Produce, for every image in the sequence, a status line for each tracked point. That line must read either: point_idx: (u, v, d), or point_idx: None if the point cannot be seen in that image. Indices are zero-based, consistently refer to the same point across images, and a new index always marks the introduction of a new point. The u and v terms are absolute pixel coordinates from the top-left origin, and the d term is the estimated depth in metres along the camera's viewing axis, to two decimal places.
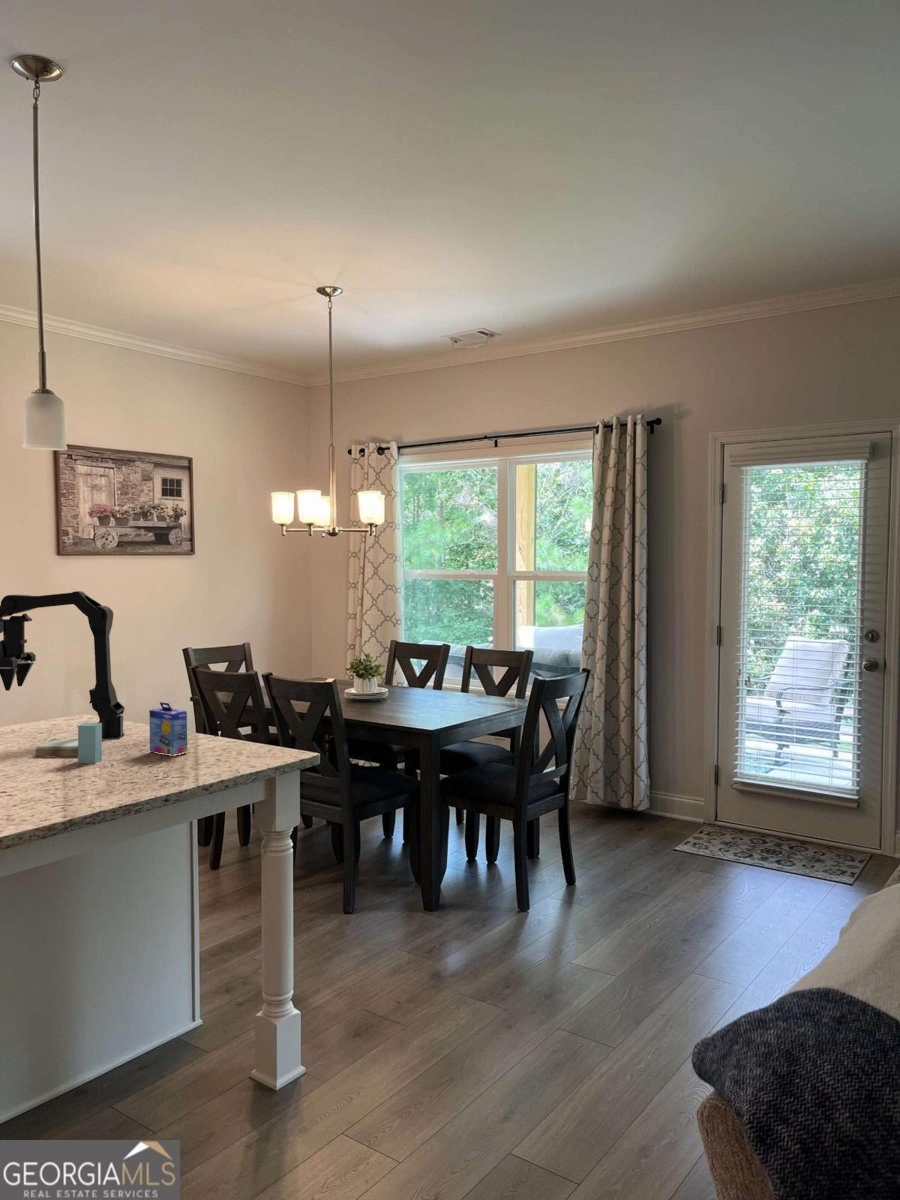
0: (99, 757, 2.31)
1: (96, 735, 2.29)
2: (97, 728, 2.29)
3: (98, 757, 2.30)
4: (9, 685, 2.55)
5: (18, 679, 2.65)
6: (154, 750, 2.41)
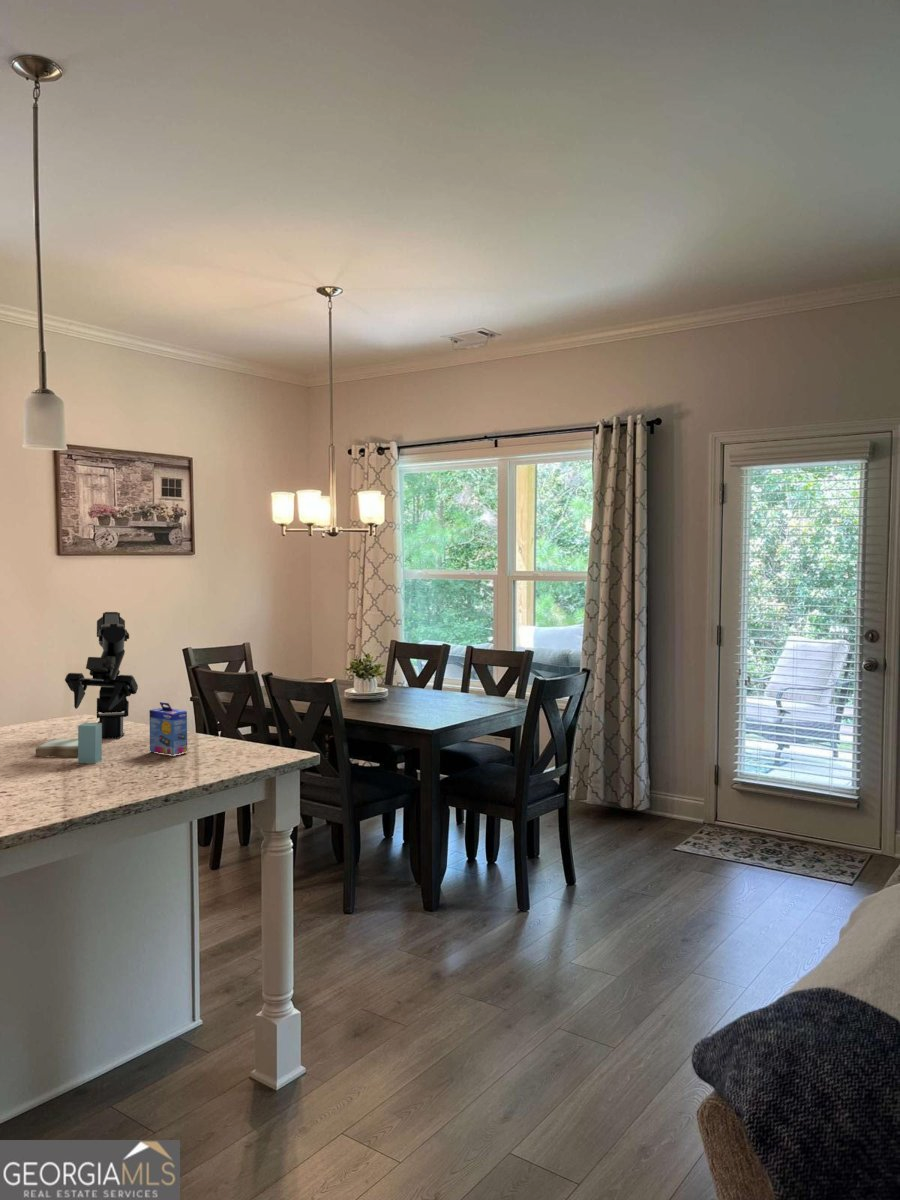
0: (99, 757, 2.31)
1: (96, 735, 2.29)
2: (97, 728, 2.29)
3: (98, 757, 2.30)
4: (113, 706, 2.38)
5: (78, 700, 2.38)
6: (154, 750, 2.41)
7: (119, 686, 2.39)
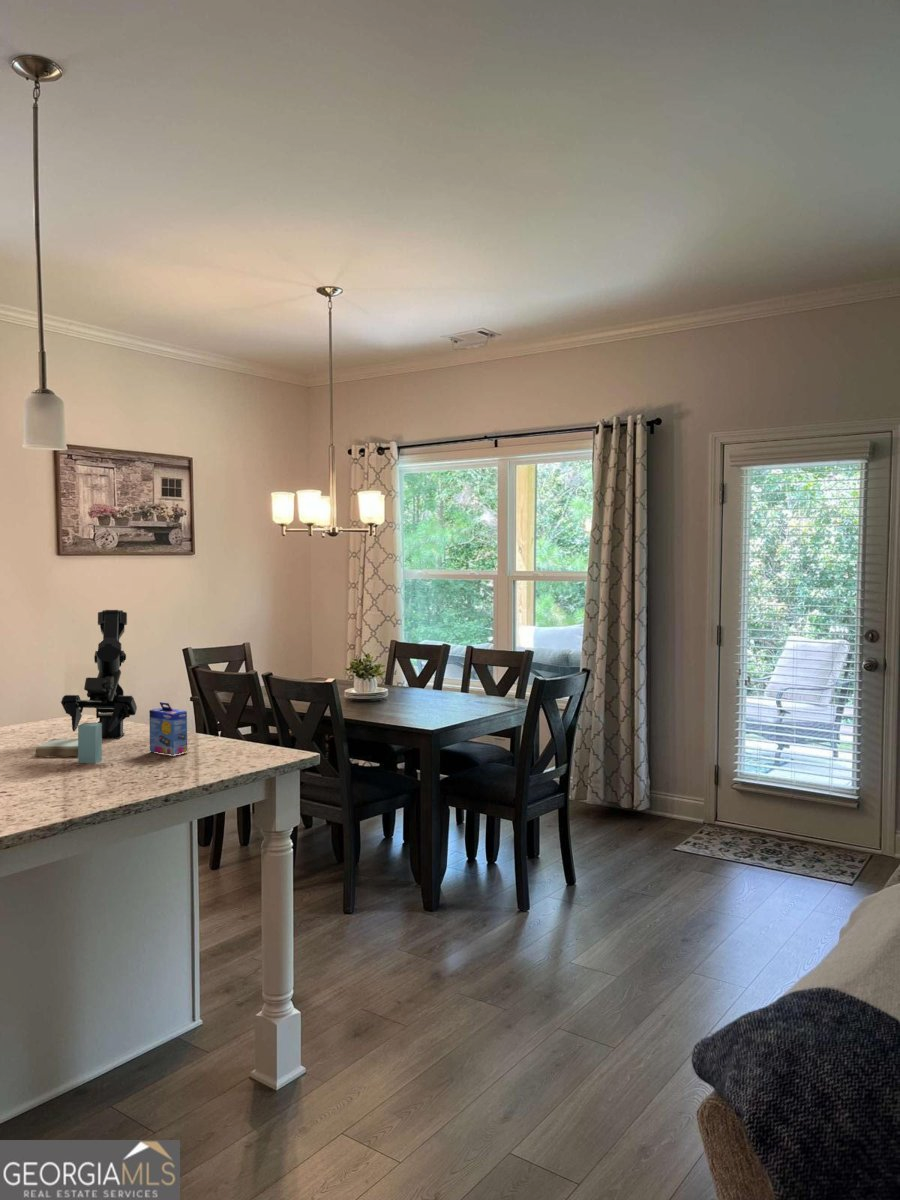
0: (99, 757, 2.31)
1: (96, 735, 2.29)
2: (97, 728, 2.29)
3: (98, 757, 2.30)
4: (113, 727, 2.32)
5: (75, 723, 2.32)
6: (154, 750, 2.41)
7: (119, 707, 2.33)
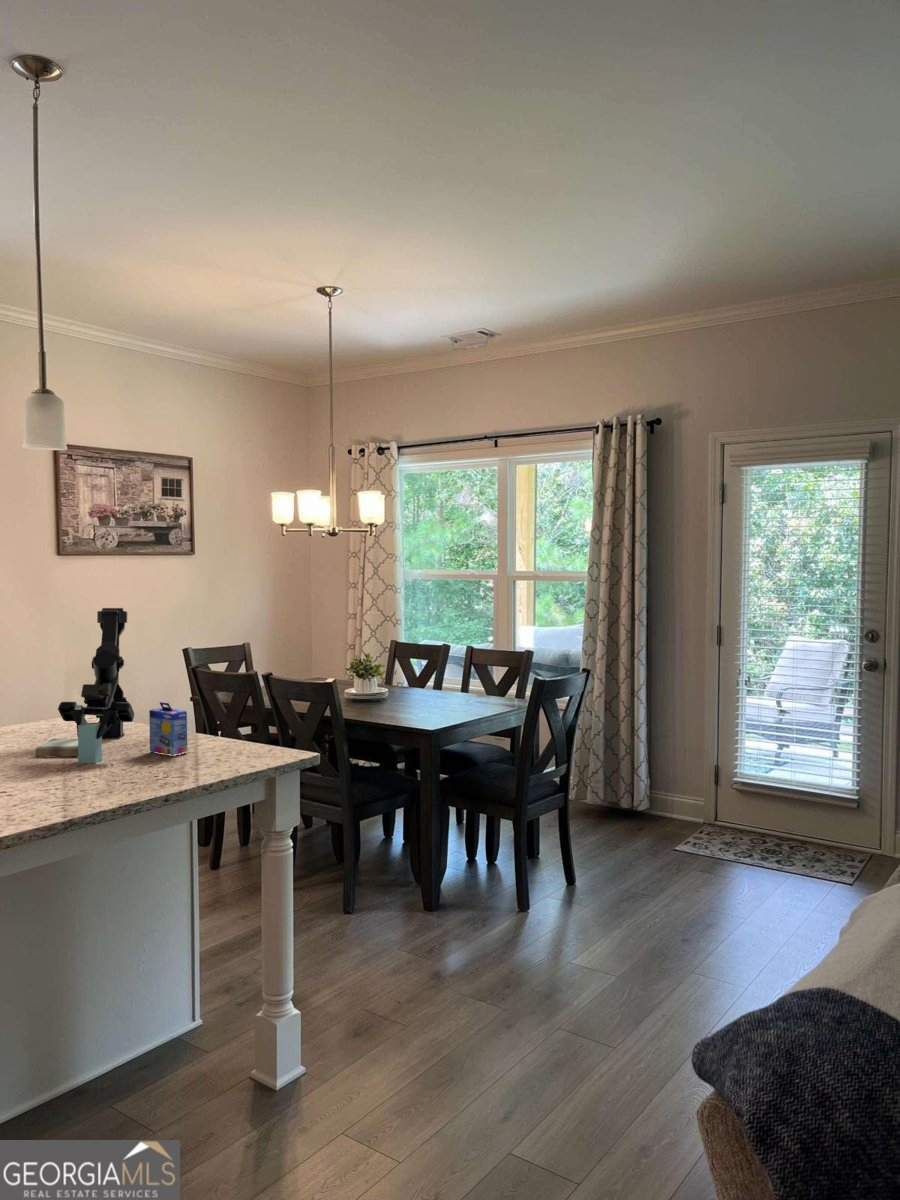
0: (99, 757, 2.31)
1: (96, 735, 2.29)
2: (97, 728, 2.29)
3: (98, 757, 2.30)
4: (102, 734, 2.31)
5: None
6: (154, 750, 2.41)
7: (108, 714, 2.31)
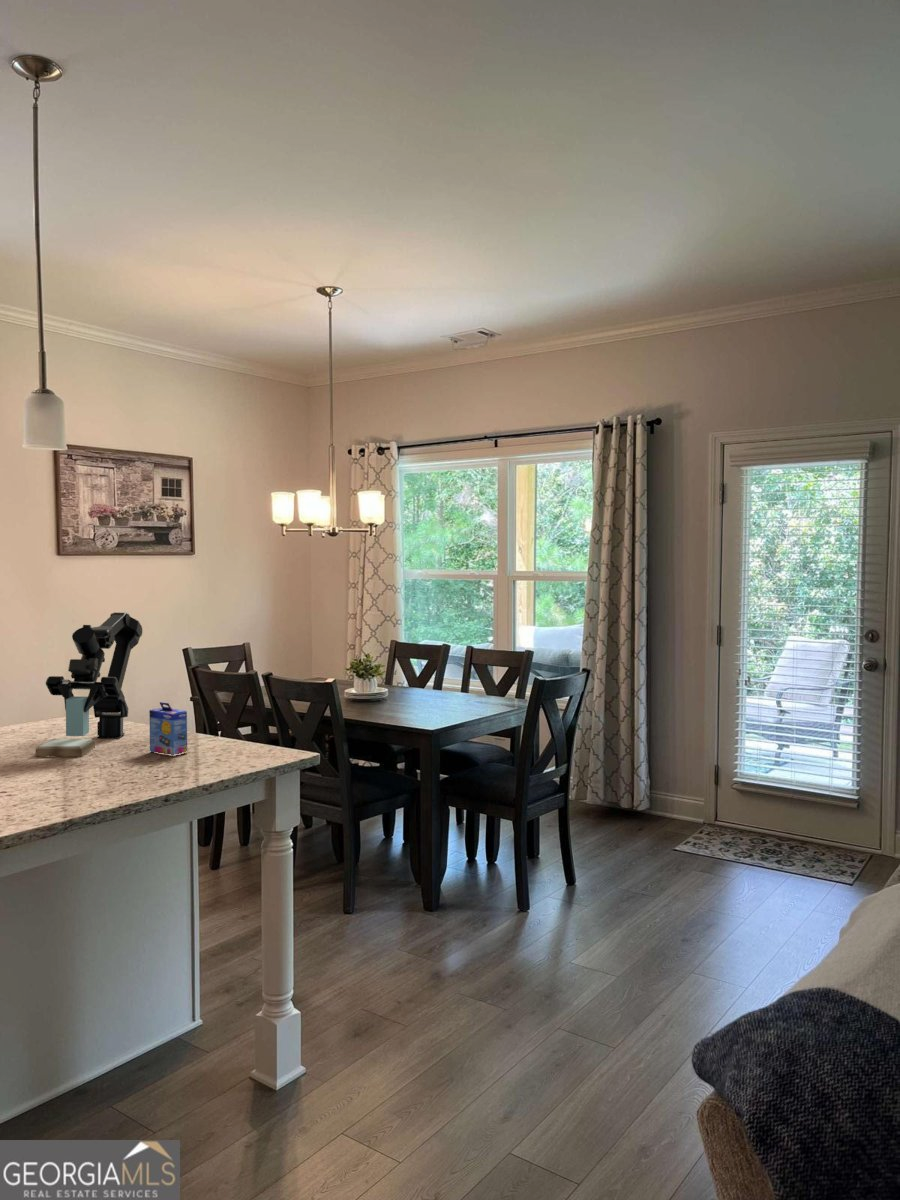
0: (87, 729, 2.38)
1: None
2: (84, 701, 2.35)
3: (85, 730, 2.37)
4: (89, 708, 2.37)
5: None
6: (154, 750, 2.41)
7: (95, 688, 2.38)
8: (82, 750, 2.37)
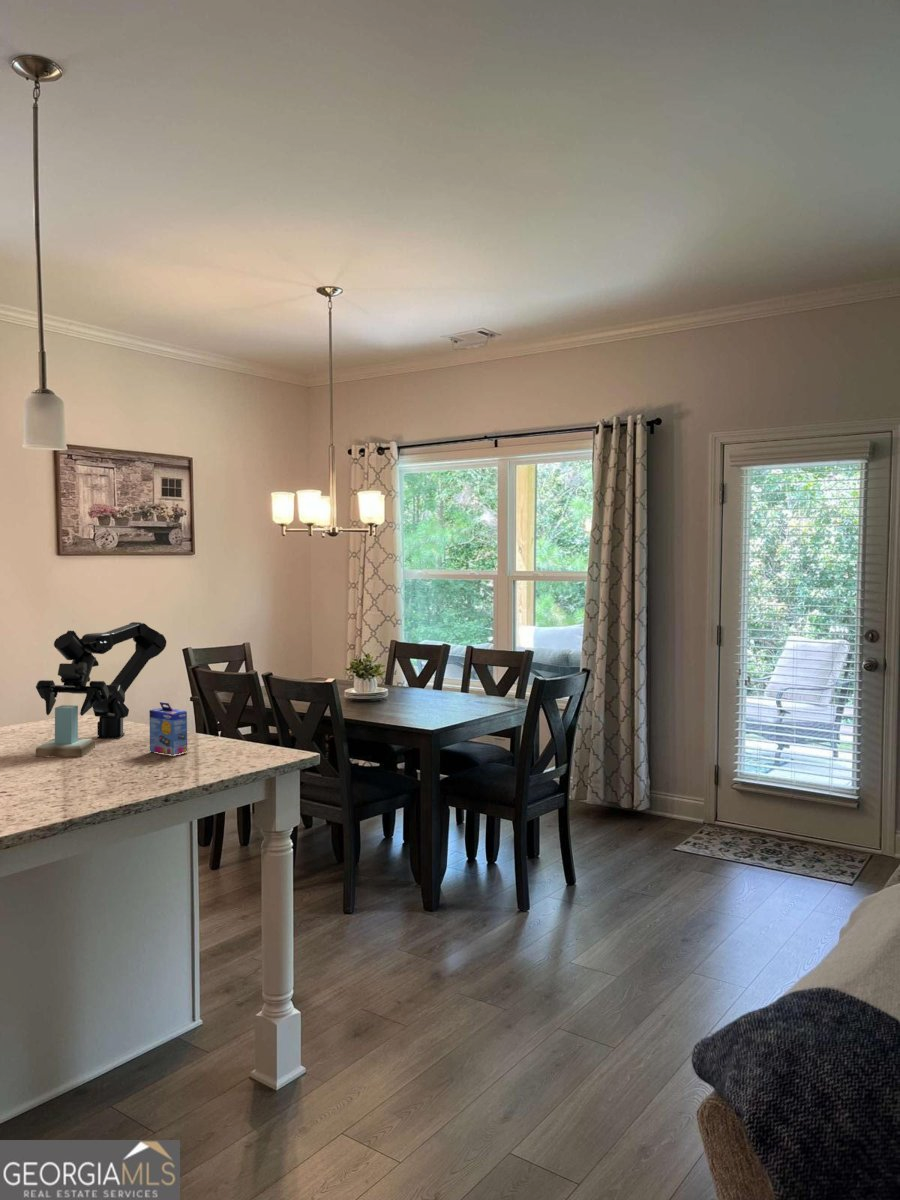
0: (75, 738, 2.42)
1: (72, 717, 2.40)
2: (73, 710, 2.40)
3: (74, 738, 2.41)
4: (85, 711, 2.41)
5: (49, 707, 2.41)
6: (154, 750, 2.41)
7: (91, 692, 2.42)
8: (82, 750, 2.37)
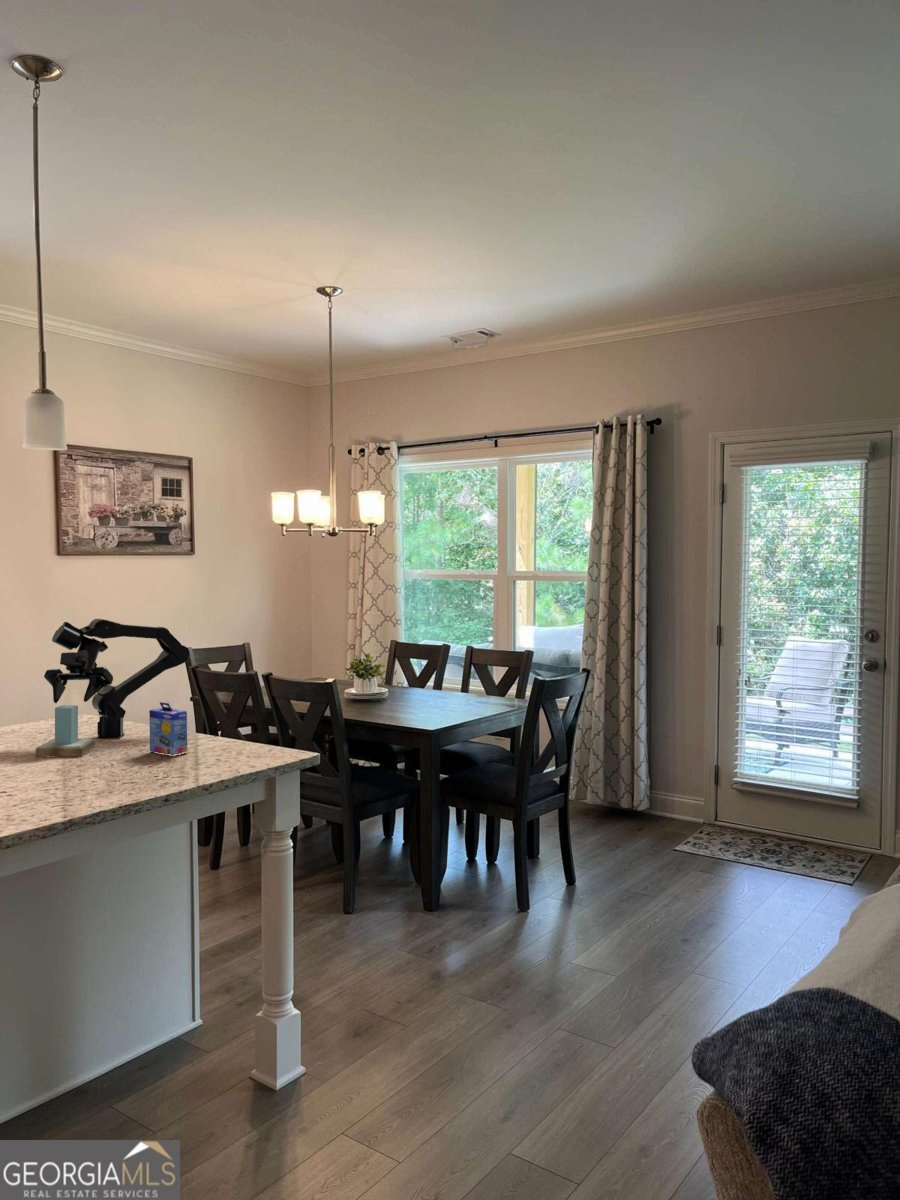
0: (75, 738, 2.42)
1: (72, 717, 2.40)
2: (73, 710, 2.40)
3: (74, 738, 2.41)
4: (89, 697, 2.48)
5: (57, 695, 2.49)
6: (154, 750, 2.41)
7: (93, 678, 2.48)
8: (82, 750, 2.37)
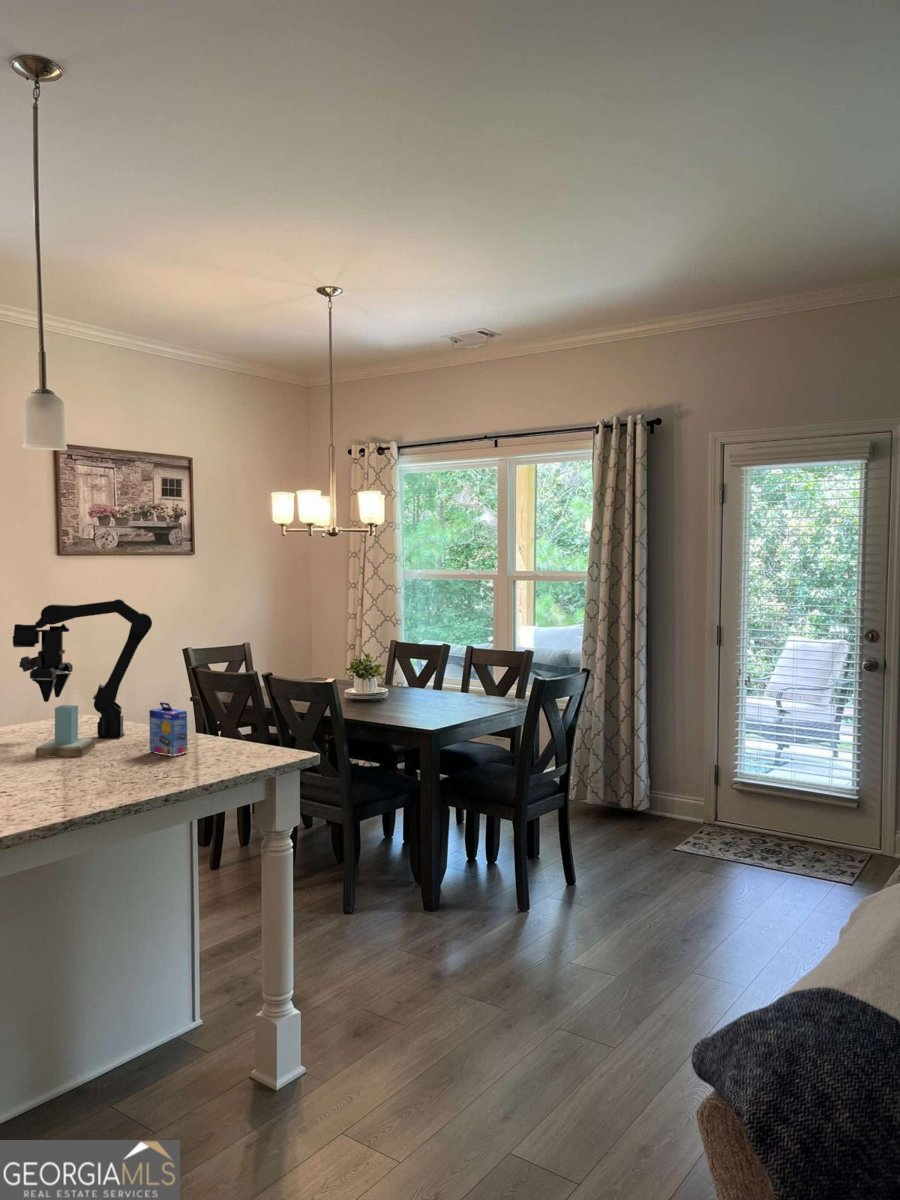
0: (75, 738, 2.42)
1: (72, 717, 2.40)
2: (73, 710, 2.40)
3: (74, 738, 2.41)
4: (48, 696, 2.53)
5: (55, 690, 2.62)
6: (154, 750, 2.41)
7: None
8: (82, 750, 2.37)
